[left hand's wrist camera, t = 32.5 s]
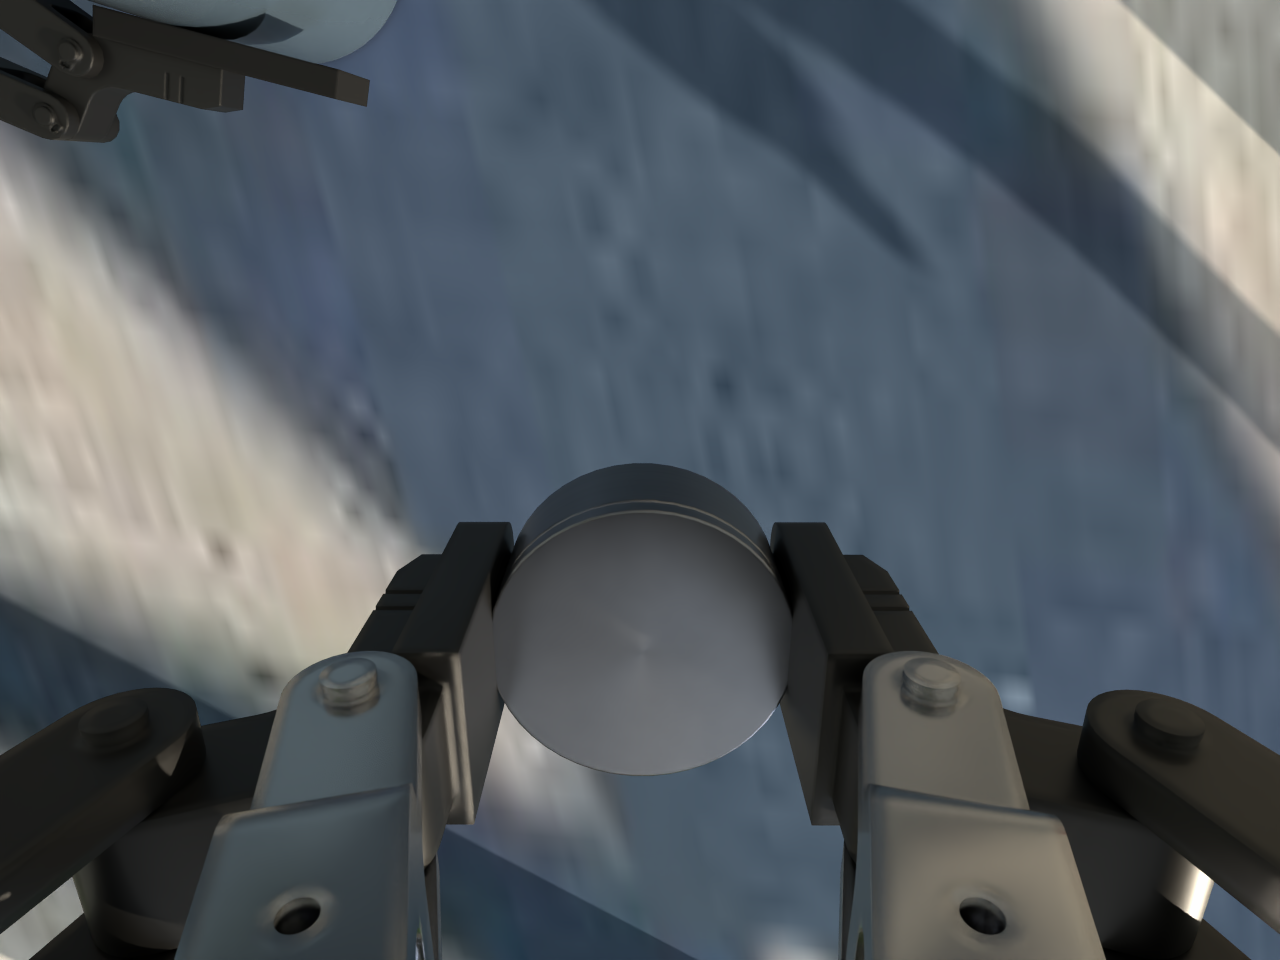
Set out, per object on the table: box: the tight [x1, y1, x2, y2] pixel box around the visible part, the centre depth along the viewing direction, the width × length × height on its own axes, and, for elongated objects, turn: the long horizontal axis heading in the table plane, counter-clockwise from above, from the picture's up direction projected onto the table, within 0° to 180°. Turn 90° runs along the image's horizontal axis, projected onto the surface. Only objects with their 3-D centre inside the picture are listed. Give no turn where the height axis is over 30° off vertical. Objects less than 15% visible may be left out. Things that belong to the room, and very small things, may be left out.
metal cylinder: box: [492, 463, 793, 776], centre depth 11 cm, size 4×4×2 cm
